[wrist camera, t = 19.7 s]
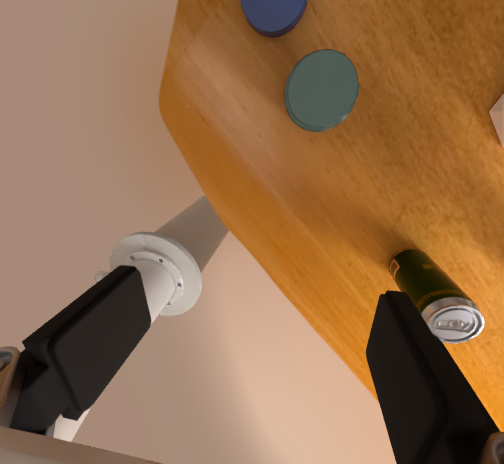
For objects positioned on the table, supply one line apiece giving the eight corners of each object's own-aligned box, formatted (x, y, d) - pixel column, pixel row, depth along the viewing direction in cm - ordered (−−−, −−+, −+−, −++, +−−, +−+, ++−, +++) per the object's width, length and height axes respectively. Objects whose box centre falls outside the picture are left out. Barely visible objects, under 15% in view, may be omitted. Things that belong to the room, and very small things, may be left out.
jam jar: (287, 129, 31) (281, 132, 21) (289, 72, 28) (284, 45, 19) (338, 129, 30) (356, 132, 20) (345, 69, 27) (370, 40, 18)
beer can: (385, 279, 37) (421, 344, 26) (388, 247, 35) (428, 303, 24) (426, 278, 35) (481, 346, 25) (430, 245, 33) (493, 303, 23)
